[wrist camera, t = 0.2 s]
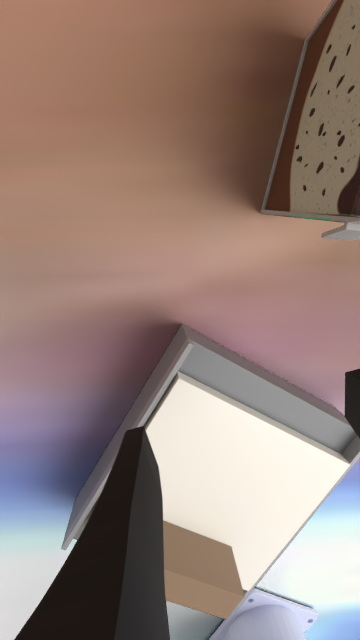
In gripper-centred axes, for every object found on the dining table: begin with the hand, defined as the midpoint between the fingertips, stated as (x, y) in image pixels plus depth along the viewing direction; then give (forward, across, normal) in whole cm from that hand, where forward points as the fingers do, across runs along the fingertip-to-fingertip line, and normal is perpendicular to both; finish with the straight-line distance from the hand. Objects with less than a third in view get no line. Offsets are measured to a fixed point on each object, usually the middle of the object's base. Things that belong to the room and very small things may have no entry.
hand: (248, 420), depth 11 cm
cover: (+6, +2, +11) cm, 12 cm away
